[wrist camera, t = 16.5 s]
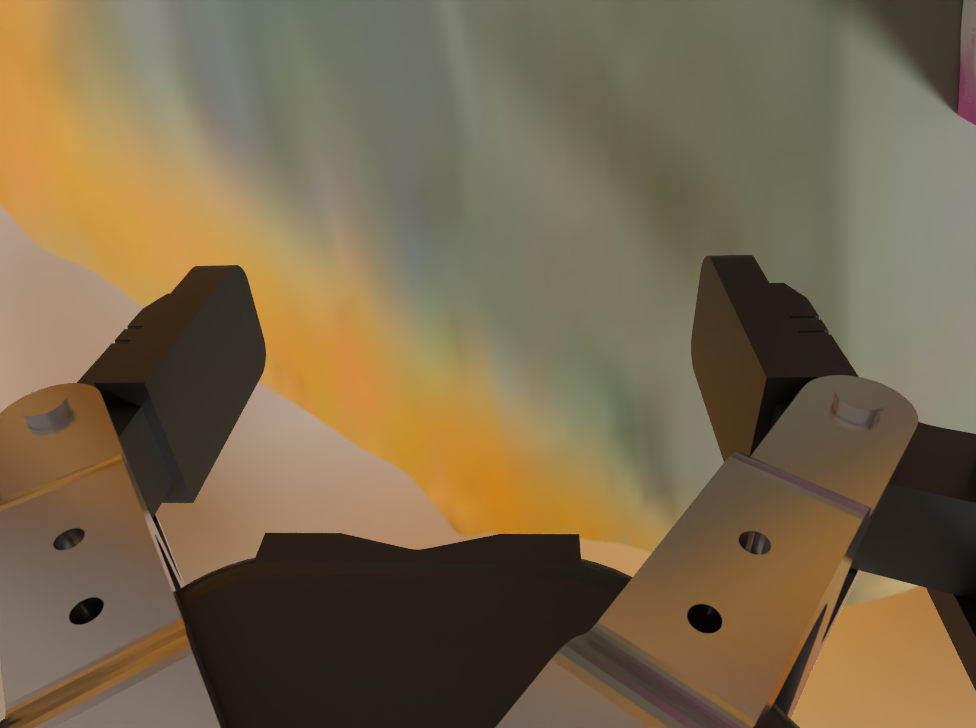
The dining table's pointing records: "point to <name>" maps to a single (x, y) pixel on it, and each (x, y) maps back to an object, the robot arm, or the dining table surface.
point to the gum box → (968, 63)
